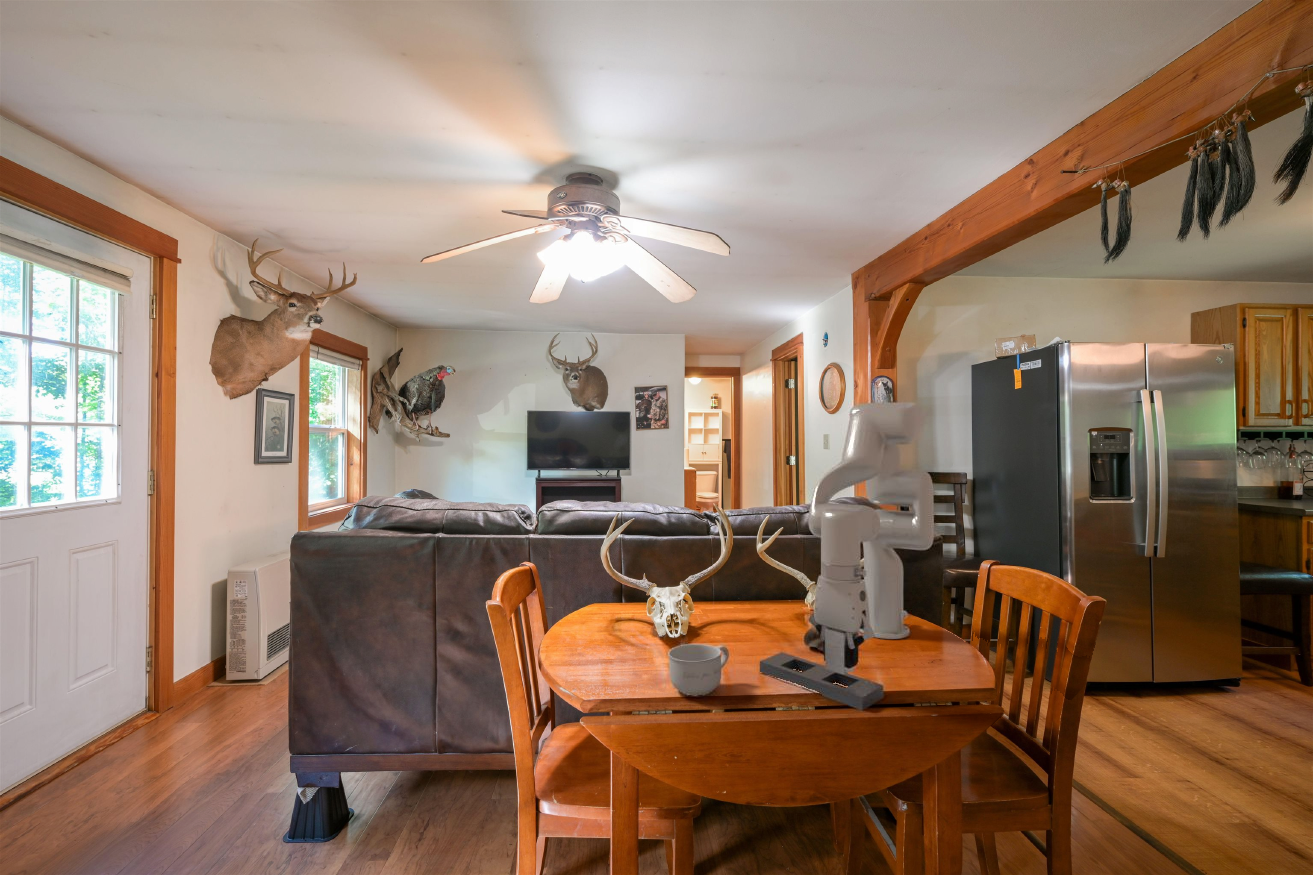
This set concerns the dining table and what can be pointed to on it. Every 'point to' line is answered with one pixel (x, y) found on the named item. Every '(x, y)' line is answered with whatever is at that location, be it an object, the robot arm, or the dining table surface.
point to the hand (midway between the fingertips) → (840, 661)
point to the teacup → (696, 667)
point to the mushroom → (813, 639)
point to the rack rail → (823, 680)
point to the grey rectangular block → (836, 651)
